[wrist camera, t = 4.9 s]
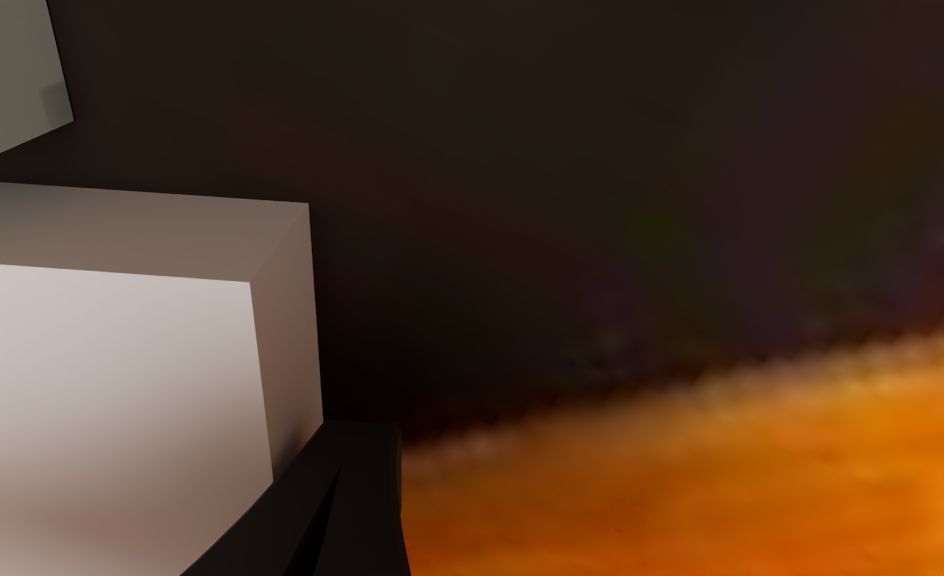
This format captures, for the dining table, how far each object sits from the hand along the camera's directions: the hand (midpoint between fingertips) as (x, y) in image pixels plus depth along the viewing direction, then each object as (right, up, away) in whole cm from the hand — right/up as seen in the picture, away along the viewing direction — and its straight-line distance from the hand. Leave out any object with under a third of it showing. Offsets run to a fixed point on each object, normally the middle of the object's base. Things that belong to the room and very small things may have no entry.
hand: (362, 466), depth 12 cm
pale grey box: (-4, +1, +1) cm, 5 cm away
